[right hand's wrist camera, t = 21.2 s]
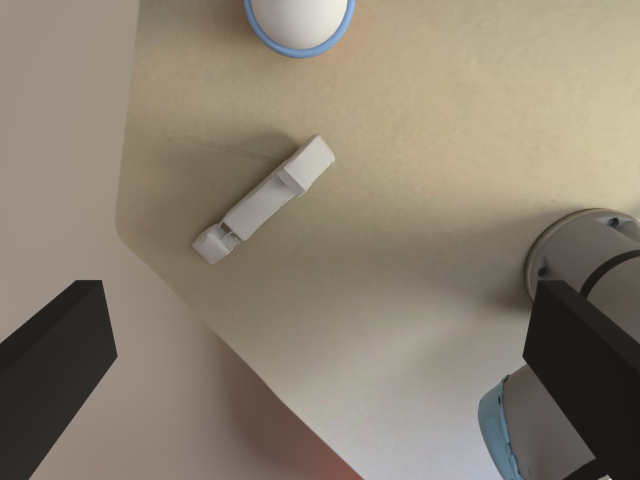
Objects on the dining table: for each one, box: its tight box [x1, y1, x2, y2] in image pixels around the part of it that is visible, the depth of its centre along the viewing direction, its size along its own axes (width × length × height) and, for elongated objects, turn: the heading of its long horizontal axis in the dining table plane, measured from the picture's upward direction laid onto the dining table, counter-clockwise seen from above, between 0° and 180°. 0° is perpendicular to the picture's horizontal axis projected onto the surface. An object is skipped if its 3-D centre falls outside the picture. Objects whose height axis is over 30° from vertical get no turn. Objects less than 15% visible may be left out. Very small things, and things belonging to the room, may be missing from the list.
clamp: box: [192, 134, 335, 265], centre depth 48 cm, size 20×4×7 cm, turn 131°
